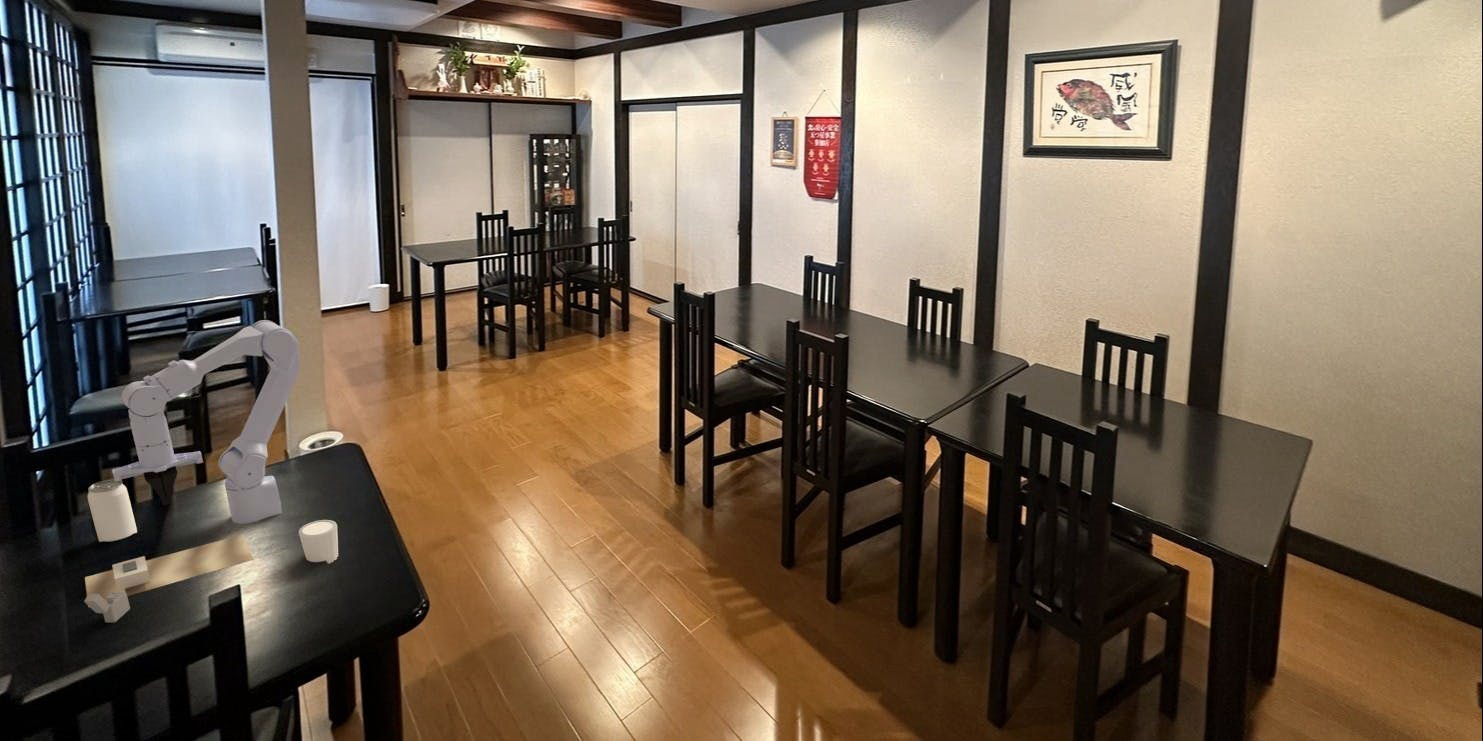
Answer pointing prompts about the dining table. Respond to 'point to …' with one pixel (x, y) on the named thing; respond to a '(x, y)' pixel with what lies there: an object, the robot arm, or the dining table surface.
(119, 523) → the can
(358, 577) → the dining table surface
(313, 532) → the white cup
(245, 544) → the board
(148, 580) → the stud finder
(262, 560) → the dining table surface
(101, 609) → the lighter
